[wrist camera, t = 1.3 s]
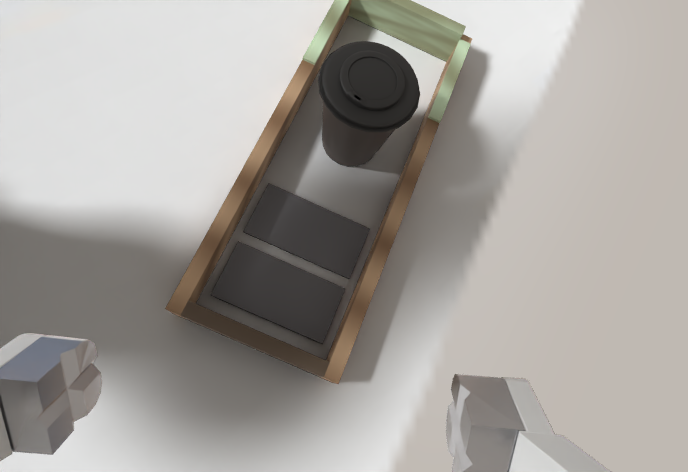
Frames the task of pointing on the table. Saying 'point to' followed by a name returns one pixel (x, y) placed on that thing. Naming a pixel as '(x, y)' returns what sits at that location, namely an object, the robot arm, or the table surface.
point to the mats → (285, 279)
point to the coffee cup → (364, 99)
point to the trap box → (359, 3)
